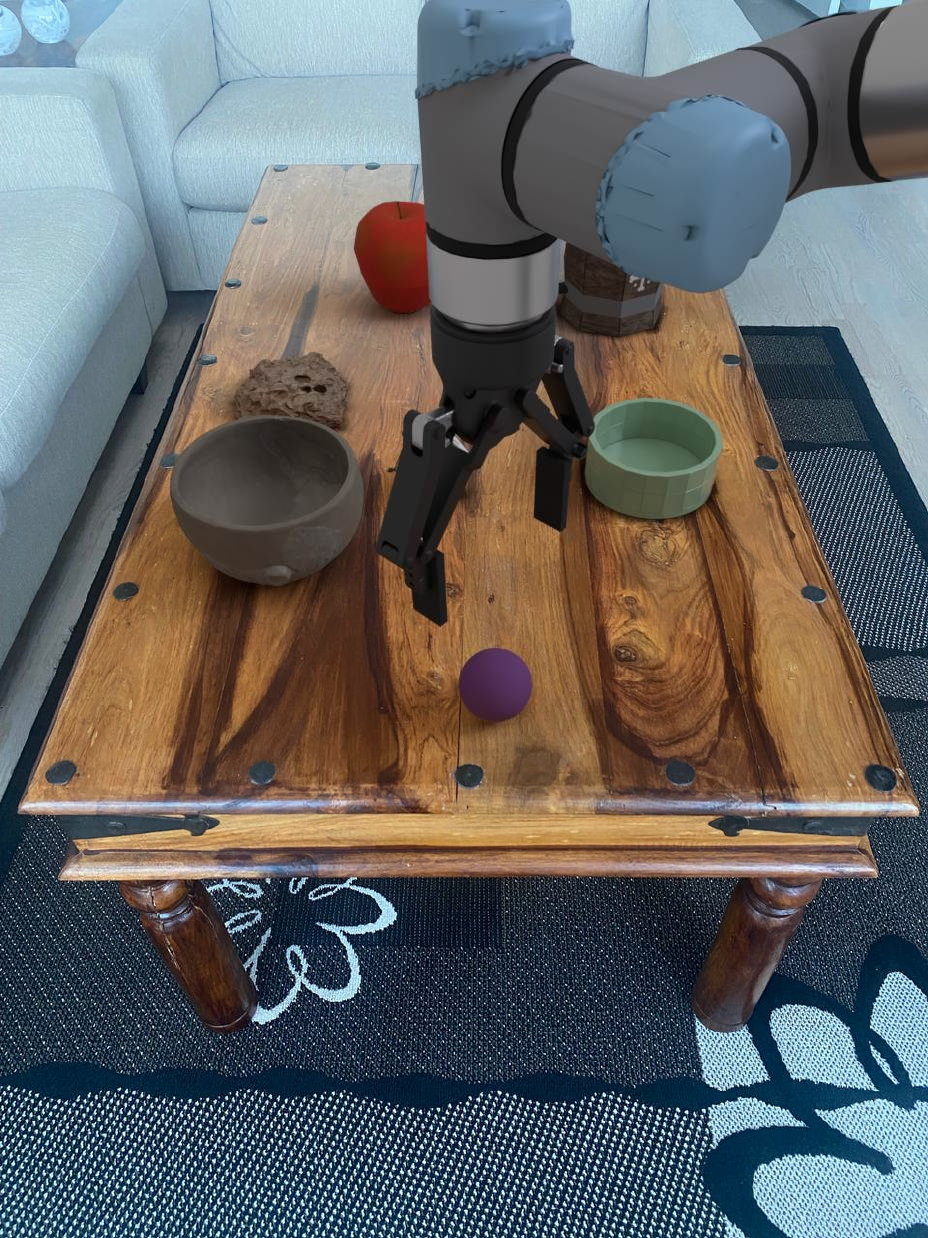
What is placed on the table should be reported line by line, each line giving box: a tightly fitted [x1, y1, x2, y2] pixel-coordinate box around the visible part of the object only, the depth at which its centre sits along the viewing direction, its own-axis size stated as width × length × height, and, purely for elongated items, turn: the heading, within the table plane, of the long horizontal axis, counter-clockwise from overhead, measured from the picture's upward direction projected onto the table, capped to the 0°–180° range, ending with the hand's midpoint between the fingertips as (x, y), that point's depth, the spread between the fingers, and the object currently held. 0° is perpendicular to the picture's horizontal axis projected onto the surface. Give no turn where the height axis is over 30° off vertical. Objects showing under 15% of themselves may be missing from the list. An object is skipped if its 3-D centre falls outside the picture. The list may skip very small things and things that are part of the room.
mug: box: [558, 242, 664, 338], centre depth 116 cm, size 20×14×15 cm
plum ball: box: [458, 647, 533, 723], centre depth 75 cm, size 6×6×6 cm
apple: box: [353, 200, 432, 314], centre depth 118 cm, size 12×12×14 cm
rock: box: [234, 351, 349, 429], centre depth 108 cm, size 14×13×4 cm
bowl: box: [169, 415, 365, 587], centre depth 87 cm, size 17×18×10 cm
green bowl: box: [584, 397, 724, 520], centre depth 95 cm, size 13×13×6 cm
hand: (493, 567), depth 69 cm, fingers open, 13 cm apart
